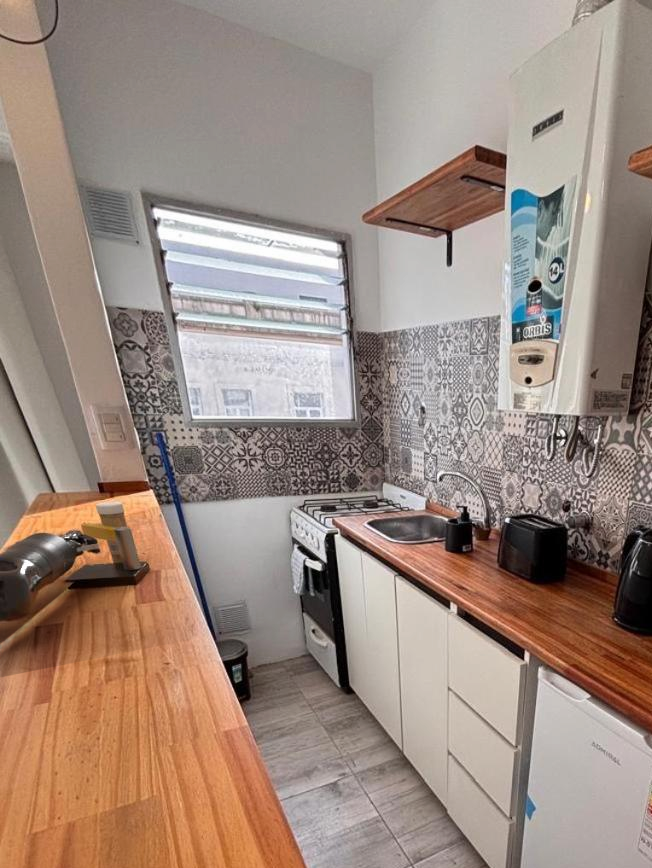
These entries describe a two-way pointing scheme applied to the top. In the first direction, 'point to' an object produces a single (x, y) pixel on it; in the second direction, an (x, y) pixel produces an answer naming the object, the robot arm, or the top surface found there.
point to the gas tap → (118, 535)
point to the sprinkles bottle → (112, 523)
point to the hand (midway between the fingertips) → (77, 535)
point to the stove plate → (106, 575)
